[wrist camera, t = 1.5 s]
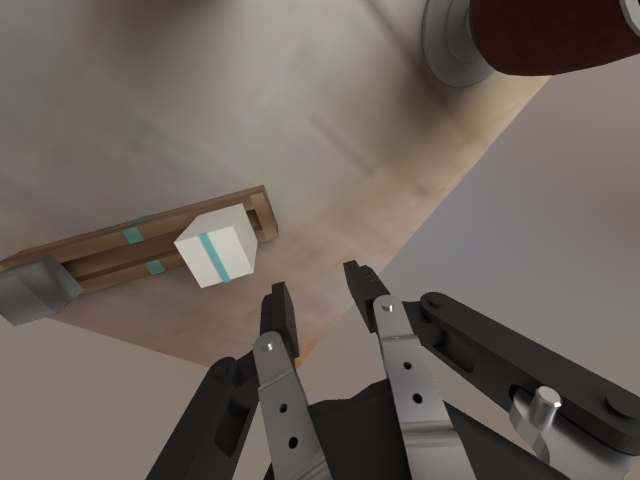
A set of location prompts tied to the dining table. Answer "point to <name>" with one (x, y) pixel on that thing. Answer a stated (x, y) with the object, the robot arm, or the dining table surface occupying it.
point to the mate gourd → (526, 36)
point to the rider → (219, 246)
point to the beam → (111, 256)
